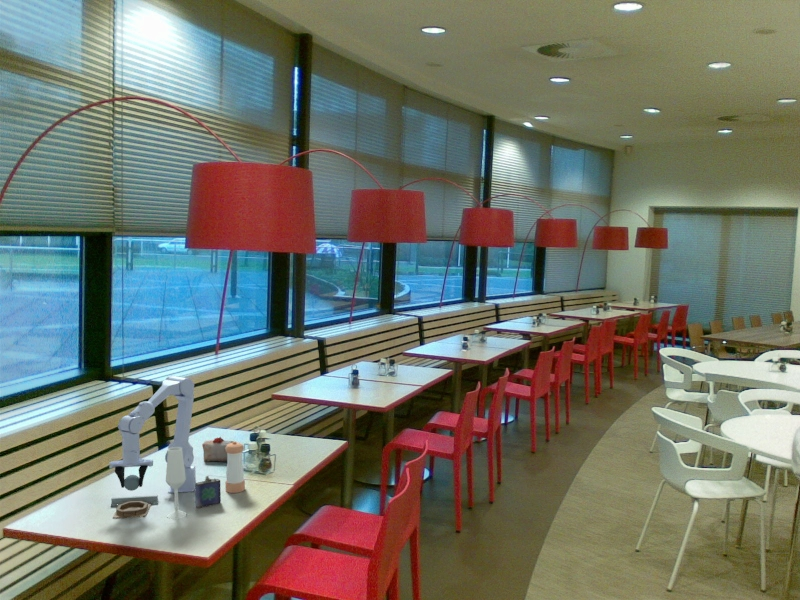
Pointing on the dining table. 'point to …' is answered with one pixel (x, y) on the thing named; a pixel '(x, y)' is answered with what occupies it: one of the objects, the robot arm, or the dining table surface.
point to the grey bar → (134, 499)
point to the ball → (131, 482)
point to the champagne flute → (175, 477)
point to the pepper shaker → (234, 468)
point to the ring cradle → (132, 509)
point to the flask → (207, 493)
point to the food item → (215, 450)
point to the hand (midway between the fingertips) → (132, 486)
